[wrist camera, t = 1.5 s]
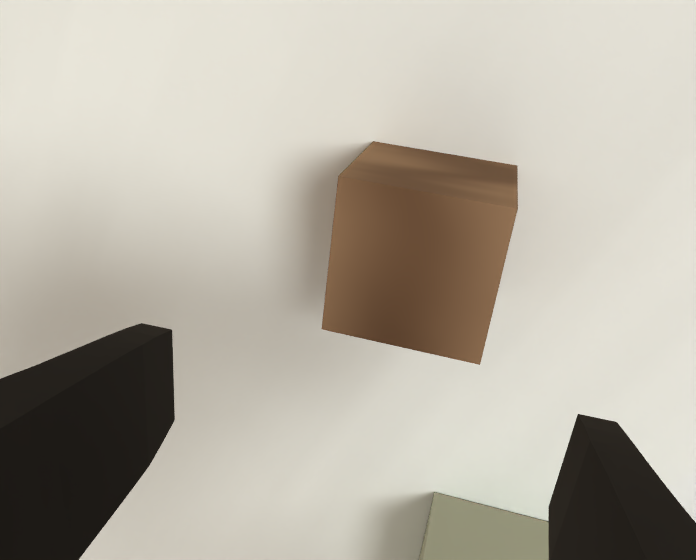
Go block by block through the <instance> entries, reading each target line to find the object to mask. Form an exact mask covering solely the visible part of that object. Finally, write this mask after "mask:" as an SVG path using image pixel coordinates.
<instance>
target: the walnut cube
mask: <svg viewBox="0 0 696 560" xmlns="http://www.w3.org/2000/svg"><path fill="white" fill-rule="evenodd" d="M517 209H518V193H517V166H516V165H510V164H504V163H498V162H492V161H486V160H480V159H475V158H469V157H463V156H457V155H451V154H445V153H439V152H433V151H427V150H421V149H415V148H410V147H404V146H398V145H392V144H386V143H380V142H374V141H373V142H372V143H371V144H370V145H369V146H368V147H367V148H366V149H365V150H364V151H363V152H362V153H361V154H360V155H359V156H358V157H357V158H356V159H355V160H354V161H353V162H352V163H351V164H350V165H349V166H348V167H347V168H346V169H345V170H344V171H343V172H342V173H341V174H340V175H339V176H338V185H337V194H336V203H335V212H334V221H333V230H332V239H331V249H330V258H329V267H328V276H327V285H326V294H325V303H324V313H323V322H322V329H323V330H328V331H332V332H336V333H341V334H345V335H350V336H354V337H359V338H363V339H368V340H372V341H377V342H381V343H386V344H390V345H394V346H399V347H403V348H408V349H412V350H417V351H421V352H426V353H430V354H435V355H439V356H443V357H448V358H452V359H457V360H461V361H466V362H470V363H475V364H479V365H480V362H481V358H482V354H483V350H484V346H485V342H486V337H487V333H488V329H489V325H490V321H491V317H492V313H493V308H494V304H495V300H496V296H497V292H498V288H499V284H500V279H501V275H502V271H503V267H504V263H505V259H506V255H507V250H508V246H509V242H510V238H511V234H512V230H513V226H514V221H515V217H516V213H517Z"/></svg>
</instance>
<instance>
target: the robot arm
mask: <svg viewBox="0 0 696 560" xmlns="http://www.w3.org/2000/svg"><path fill="white" fill-rule="evenodd" d="M174 420H175V416H174V382H173V347H172V330H171V329H166V328H161V327H157V326H152V325H147V324H142V323H141V324H138V325H135V326H132V327H129V328H126V329H123V330H121V331H118V332H116V333H113V334H111V335H108V336H106V337H103V338H101V339H98V340H96V341H94V342H91V343H89V344H86V345H84V346H82V347H79V348H77V349H74V350H72V351H70V352H67V353H65V354H62V355H60V356H57V357H55V358H53V359H50V360H48V361H45V362H43V363H41V364H38V365H36V366H33V367H31V368H28V369H25V370H23V371H20V372H17V373H15V374H12V375H9V376H7V377H4V378H1V379H0V560H79V558H80V557H81V556H82V554H83V553H84V552H85V550H86V549H87V548H88V546H89V545H90V544H91V542H92V541H93V540H94V539H95V537H96V536H97V535H98V533H99V532H100V531H101V529H102V528H103V527H104V525H105V524H106V523H107V521H108V520H109V519H110V517H111V516H112V515H113V514H114V512H115V511H116V510H117V508H118V507H119V506H120V504H121V503H122V502H123V500H124V499H125V498H126V496H127V495H128V494H129V492H130V491H131V490H132V488H133V487H134V486H135V484H136V483H137V482H138V480H139V479H140V478H141V476H142V475H143V473H144V472H145V471H146V469H147V468H148V467H149V465H150V463H151V462H152V460H153V458H154V456H155V455H156V453H157V451H158V450H159V448H160V446H161V444H162V442H163V441H164V439H165V437H166V435H167V433H168V431H169V429H170V428H171V426H172V424H173V422H174ZM548 540H549V560H696V523H695V521H694V520H693V519H692V518H691V517H690V515H689V514H688V513H687V512H686V511H685V509H684V508H683V507H682V506H681V504H680V503H679V502H678V501H677V499H676V498H675V497H674V496H673V494H672V493H671V492H670V491H669V489H668V488H667V487H666V486H665V484H664V483H663V482H662V480H661V479H660V478H659V477H658V475H657V474H656V473H655V471H654V470H653V469H652V467H651V466H650V465H649V463H648V462H647V461H646V460H645V458H644V457H643V456H642V454H641V453H640V452H639V450H638V449H637V448H636V446H635V445H634V444H633V442H632V441H631V440H630V438H629V437H628V436H627V434H626V433H625V432H624V431H623V429H622V428H621V427H620V426H619V424H618V423H617V422H614V421H609V420H604V419H599V418H595V417H590V416H585V415H580V414H578V416H577V419H576V422H575V425H574V428H573V432H572V435H571V438H570V441H569V444H568V447H567V451H566V454H565V457H564V460H563V463H562V466H561V470H560V473H559V476H558V479H557V482H556V485H555V489H554V492H553V495H552V498H551V501H550V504H549V535H548Z"/></svg>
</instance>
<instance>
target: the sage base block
mask: <svg viewBox="0 0 696 560" xmlns="http://www.w3.org/2000/svg"><path fill="white" fill-rule="evenodd" d="M548 535H549V522H547V521H543V520H539V519H535V518H531V517H528V516H524V515H520V514H516V513H512V512H508V511H504V510H501V509H497V508H493V507H489V506H485V505H481V504H478V503H474V502H470V501H466V500H462V499H458V498H455V497H451V496H447V495H443V494H439V493H435V492H434V496H433V500H432V505H431V509H430V514H429V518H428V522H427V527H426V531H425V536H424V540H423V544H422V549H421V553H420V557H419V560H549V540H548Z"/></svg>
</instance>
